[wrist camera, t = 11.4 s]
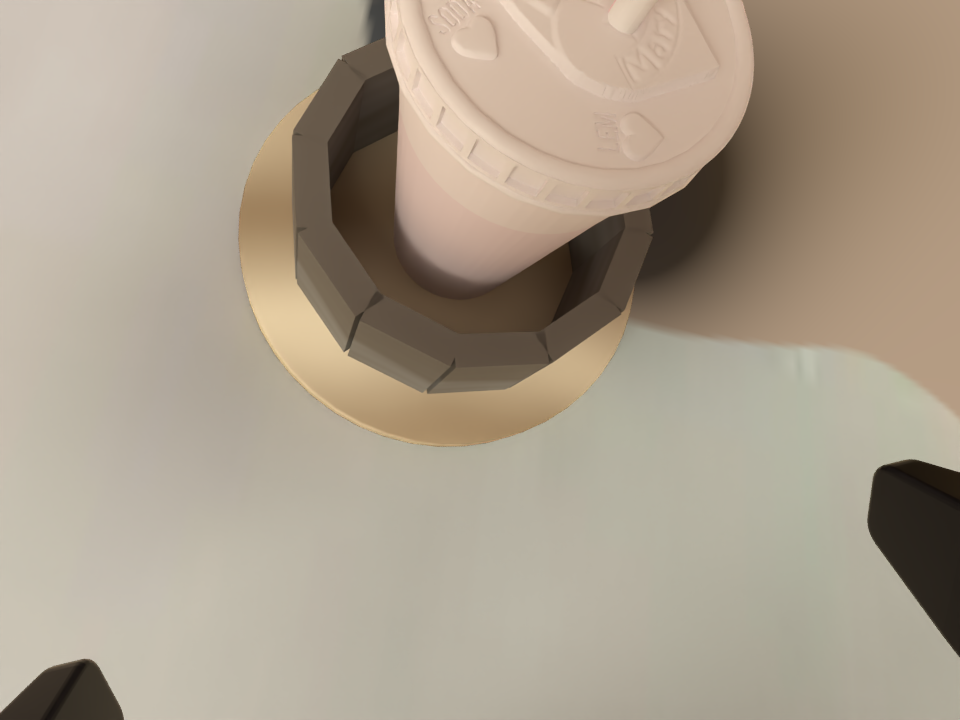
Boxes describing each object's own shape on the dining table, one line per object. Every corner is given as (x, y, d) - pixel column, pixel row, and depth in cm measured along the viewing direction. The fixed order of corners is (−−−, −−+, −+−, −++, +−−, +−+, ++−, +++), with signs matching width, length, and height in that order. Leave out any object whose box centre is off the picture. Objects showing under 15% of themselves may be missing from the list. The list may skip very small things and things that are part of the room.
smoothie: (520, 377, 19) (990, 91, 6) (310, 292, 18) (347, -267, 5) (579, 195, 21) (1034, -318, 8) (392, 108, 20) (569, -642, 7)
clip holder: (644, 432, 21) (732, 410, 17) (247, 463, 18) (233, 447, 14) (594, 94, 24) (660, 3, 19) (235, 67, 20) (220, -51, 16)
